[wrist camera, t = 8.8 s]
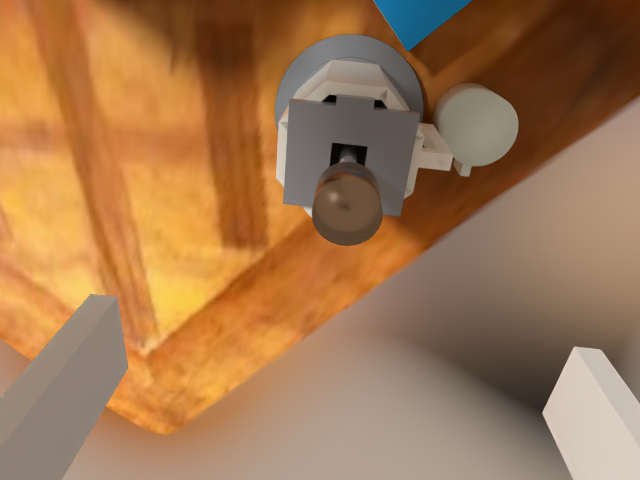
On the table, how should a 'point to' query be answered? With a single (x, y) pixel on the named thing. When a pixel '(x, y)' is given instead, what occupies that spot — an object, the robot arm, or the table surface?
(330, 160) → the cafetiere
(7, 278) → the table surface
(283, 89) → the disc
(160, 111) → the table surface
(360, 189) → the plunger
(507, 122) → the espresso cup
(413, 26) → the book
